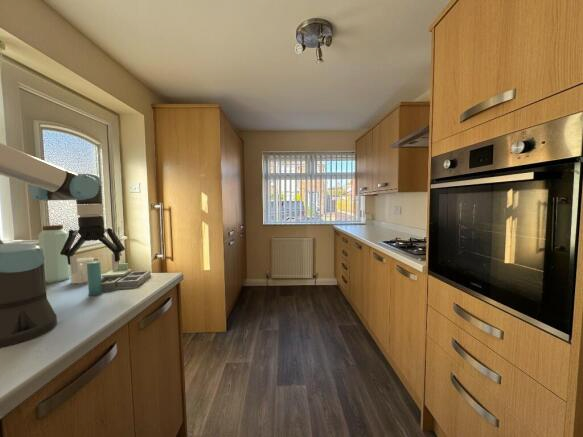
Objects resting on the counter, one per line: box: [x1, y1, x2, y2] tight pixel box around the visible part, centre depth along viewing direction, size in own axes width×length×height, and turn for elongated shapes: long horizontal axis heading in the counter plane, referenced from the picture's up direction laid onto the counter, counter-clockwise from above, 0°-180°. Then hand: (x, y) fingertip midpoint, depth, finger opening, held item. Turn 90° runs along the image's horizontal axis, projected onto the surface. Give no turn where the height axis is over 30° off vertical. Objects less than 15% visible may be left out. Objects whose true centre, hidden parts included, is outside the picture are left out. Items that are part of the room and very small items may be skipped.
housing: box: [101, 270, 152, 292], centre depth 109 cm, size 18×16×3 cm
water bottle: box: [37, 224, 71, 284], centre depth 115 cm, size 10×10×25 cm
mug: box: [70, 256, 95, 284], centre depth 111 cm, size 8×12×10 cm
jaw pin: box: [87, 261, 103, 297], centre depth 95 cm, size 4×4×12 cm
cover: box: [101, 262, 132, 278], centre depth 111 cm, size 9×8×4 cm
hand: (95, 271), depth 96 cm, fingers open, 13 cm apart
